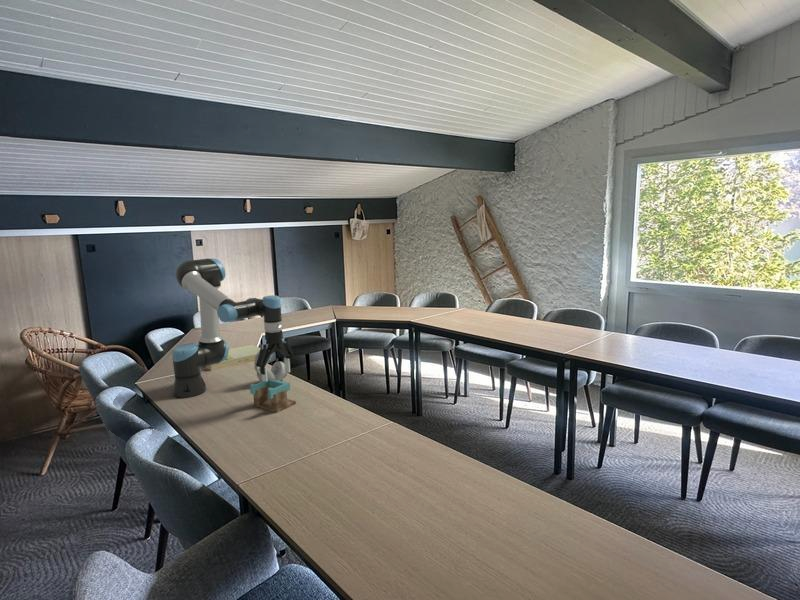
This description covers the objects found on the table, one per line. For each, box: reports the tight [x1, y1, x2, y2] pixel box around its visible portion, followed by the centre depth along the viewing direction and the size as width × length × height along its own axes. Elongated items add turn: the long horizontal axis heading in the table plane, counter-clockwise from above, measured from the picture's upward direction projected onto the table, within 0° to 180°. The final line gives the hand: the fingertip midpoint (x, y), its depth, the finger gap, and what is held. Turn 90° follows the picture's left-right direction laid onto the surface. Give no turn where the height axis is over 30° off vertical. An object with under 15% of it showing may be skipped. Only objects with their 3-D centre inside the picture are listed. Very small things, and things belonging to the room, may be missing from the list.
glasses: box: [249, 378, 291, 399], centre depth 206 cm, size 12×13×4 cm
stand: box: [252, 386, 297, 413], centre depth 209 cm, size 11×15×8 cm
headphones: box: [253, 350, 288, 382], centre depth 238 cm, size 18×10×20 cm, turn 137°
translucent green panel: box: [204, 344, 261, 372], centre depth 281 cm, size 36×5×24 cm
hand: (276, 376), depth 210 cm, fingers open, 13 cm apart
